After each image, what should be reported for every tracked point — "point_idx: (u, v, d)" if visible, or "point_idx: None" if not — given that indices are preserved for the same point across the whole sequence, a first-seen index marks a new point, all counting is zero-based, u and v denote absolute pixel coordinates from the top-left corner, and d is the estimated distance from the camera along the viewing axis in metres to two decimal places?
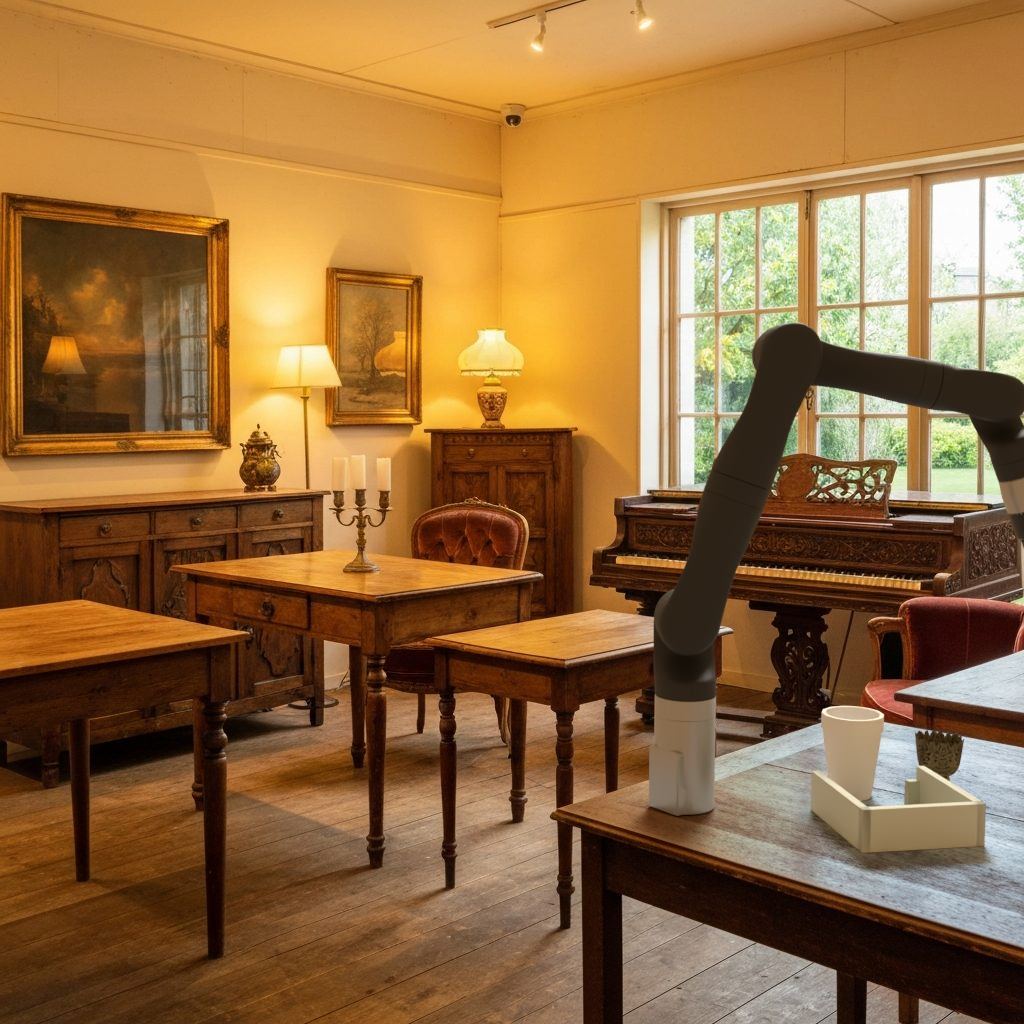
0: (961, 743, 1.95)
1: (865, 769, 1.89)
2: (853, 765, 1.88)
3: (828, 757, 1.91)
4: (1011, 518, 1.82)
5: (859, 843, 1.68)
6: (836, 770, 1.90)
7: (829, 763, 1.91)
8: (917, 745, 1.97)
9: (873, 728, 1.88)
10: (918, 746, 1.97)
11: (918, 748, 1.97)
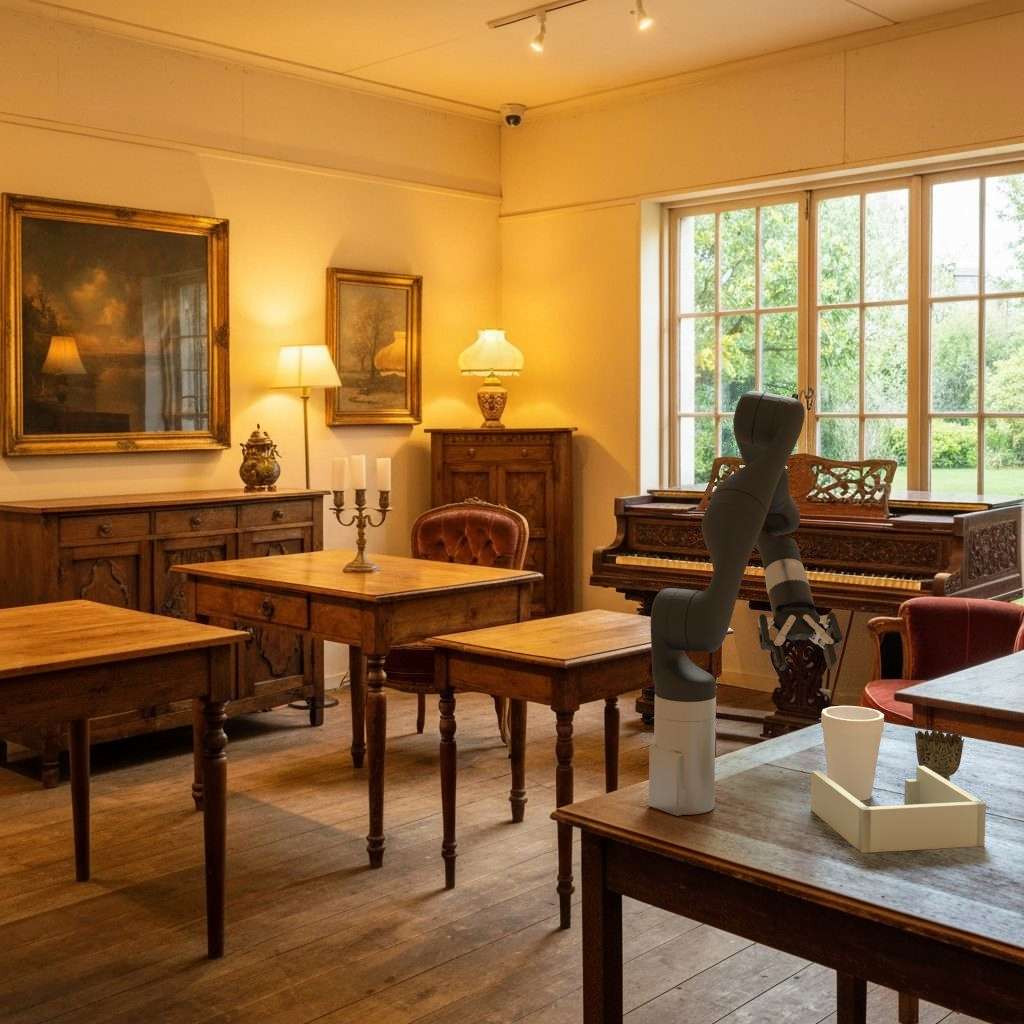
0: (961, 743, 1.95)
1: (865, 769, 1.89)
2: (853, 765, 1.88)
3: (828, 757, 1.91)
4: (796, 583, 2.19)
5: (859, 843, 1.68)
6: (836, 770, 1.90)
7: (829, 763, 1.91)
8: (917, 745, 1.97)
9: (873, 728, 1.87)
10: (918, 746, 1.97)
11: (918, 748, 1.97)
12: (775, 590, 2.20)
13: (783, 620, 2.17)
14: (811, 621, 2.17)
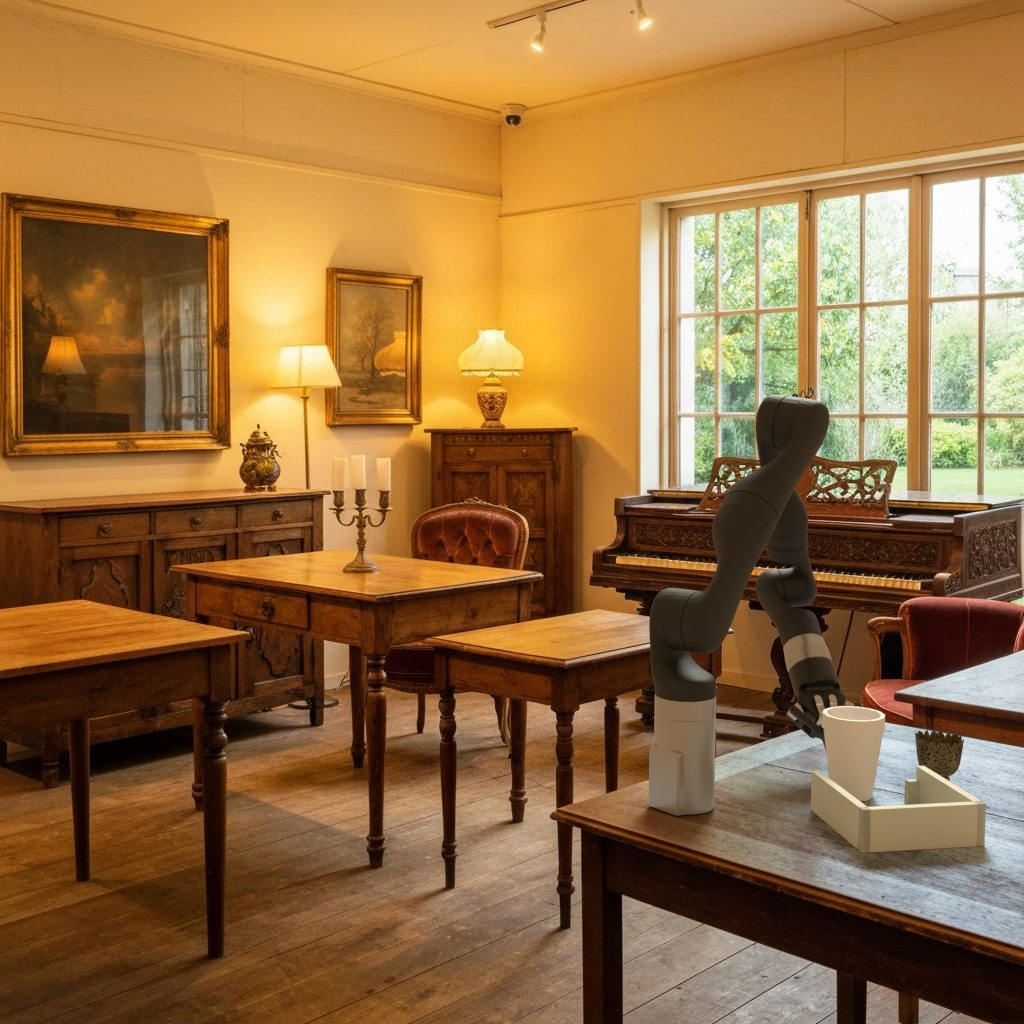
0: (961, 743, 1.95)
1: (866, 769, 1.88)
2: (854, 766, 1.88)
3: (829, 757, 1.91)
4: (820, 660, 2.05)
5: (859, 843, 1.68)
6: (837, 770, 1.90)
7: (830, 764, 1.91)
8: (917, 745, 1.97)
9: (874, 728, 1.87)
10: (918, 746, 1.97)
11: (918, 748, 1.97)
12: (797, 668, 2.05)
13: (808, 700, 2.02)
14: (834, 703, 2.02)
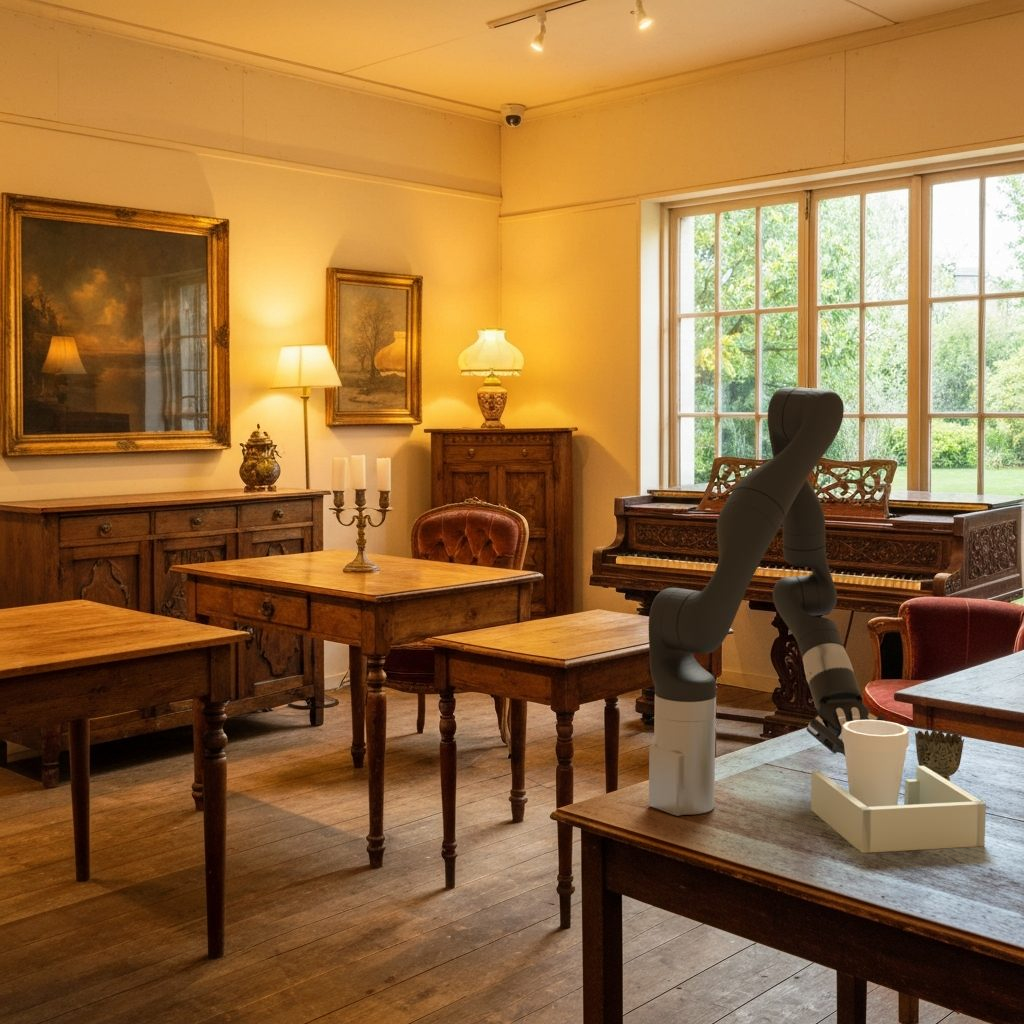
0: (961, 743, 1.95)
1: (885, 787, 1.80)
2: (872, 782, 1.80)
3: (848, 772, 1.83)
4: (841, 671, 1.96)
5: (859, 843, 1.68)
6: (856, 786, 1.82)
7: (849, 779, 1.83)
8: (917, 745, 1.97)
9: (893, 744, 1.79)
10: (918, 746, 1.97)
11: (918, 748, 1.97)
12: (818, 679, 1.97)
13: (830, 714, 1.94)
14: (857, 717, 1.93)
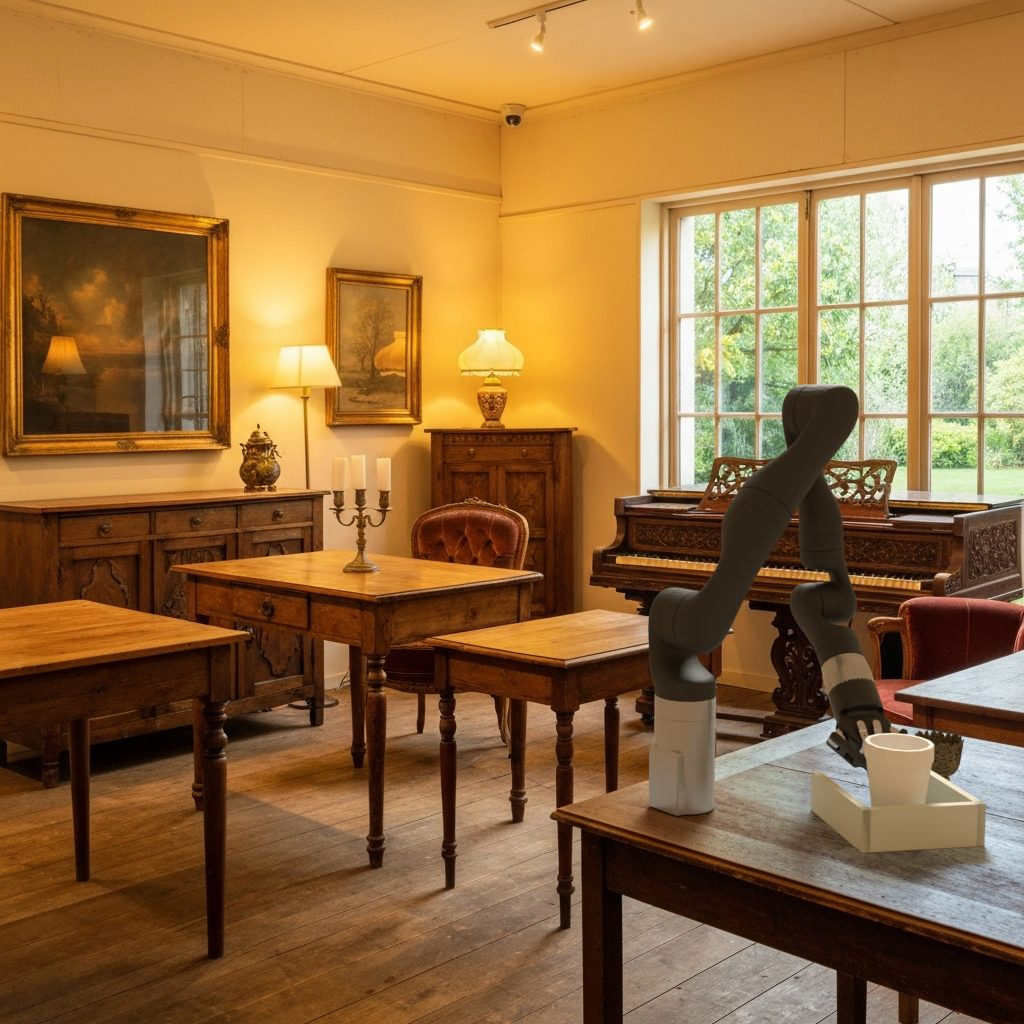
0: (961, 743, 1.95)
1: (910, 804, 1.72)
2: (896, 799, 1.72)
3: (871, 789, 1.76)
4: (862, 682, 1.89)
5: (859, 843, 1.68)
6: (878, 803, 1.74)
7: (871, 796, 1.76)
8: None
9: (918, 760, 1.71)
10: None
11: None
12: (838, 690, 1.89)
13: (850, 726, 1.86)
14: (878, 730, 1.86)
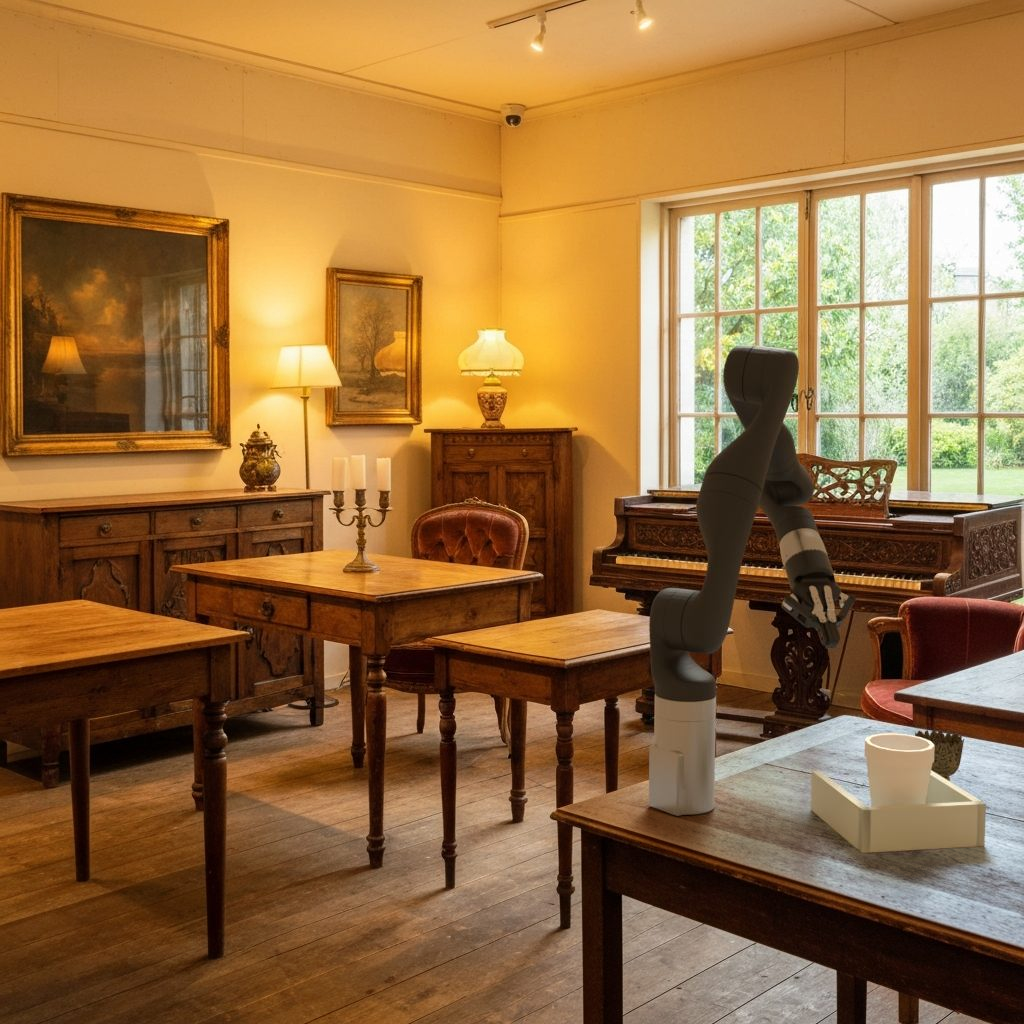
0: (961, 743, 1.95)
1: (910, 804, 1.72)
2: (896, 799, 1.72)
3: (871, 789, 1.76)
4: (815, 552, 2.07)
5: (859, 843, 1.68)
6: (879, 804, 1.74)
7: (872, 796, 1.76)
8: None
9: (919, 760, 1.71)
10: None
11: None
12: (793, 560, 2.07)
13: (803, 591, 2.04)
14: (829, 594, 2.04)
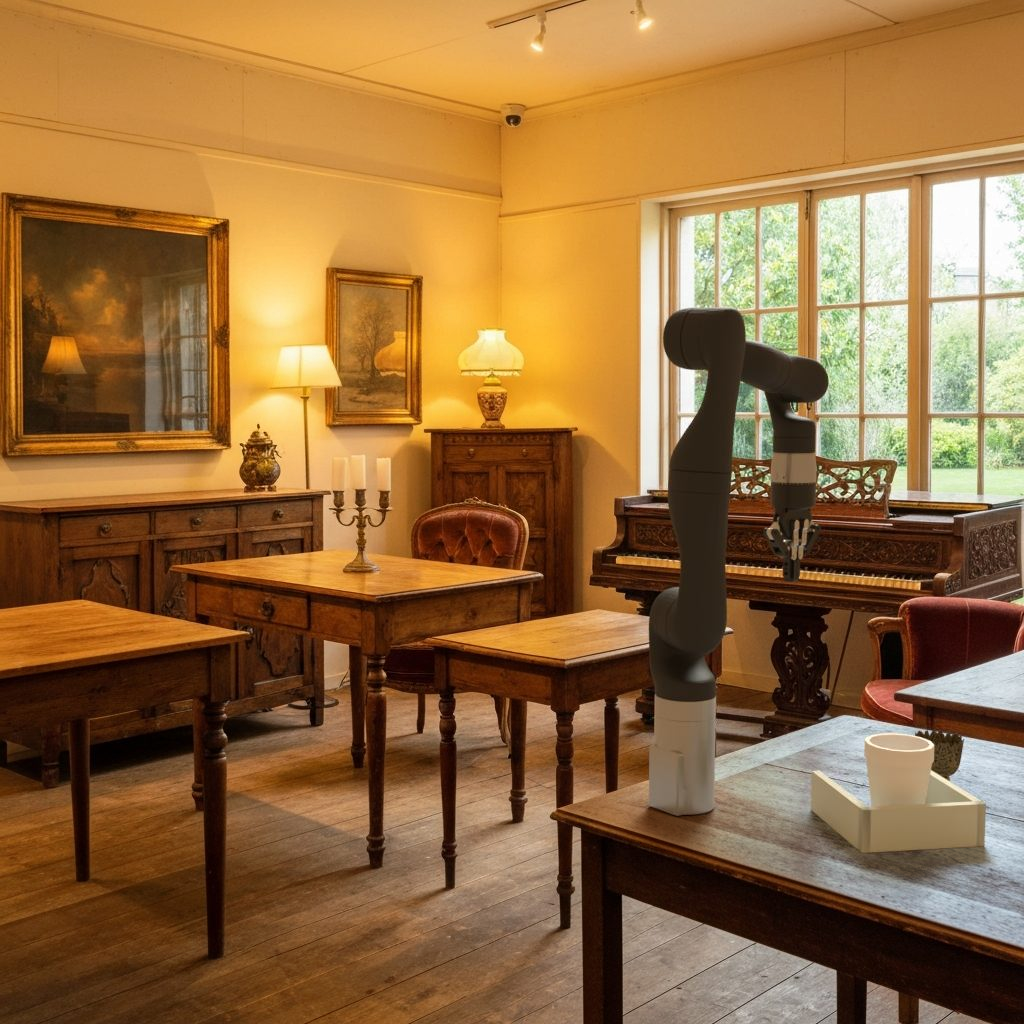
0: (961, 743, 1.95)
1: (910, 804, 1.72)
2: (896, 799, 1.72)
3: (871, 789, 1.76)
4: (812, 487, 2.05)
5: (859, 843, 1.68)
6: (878, 804, 1.74)
7: (871, 796, 1.76)
8: None
9: (918, 760, 1.71)
10: None
11: None
12: (790, 489, 2.04)
13: (787, 523, 2.06)
14: (805, 528, 2.08)
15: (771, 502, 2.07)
